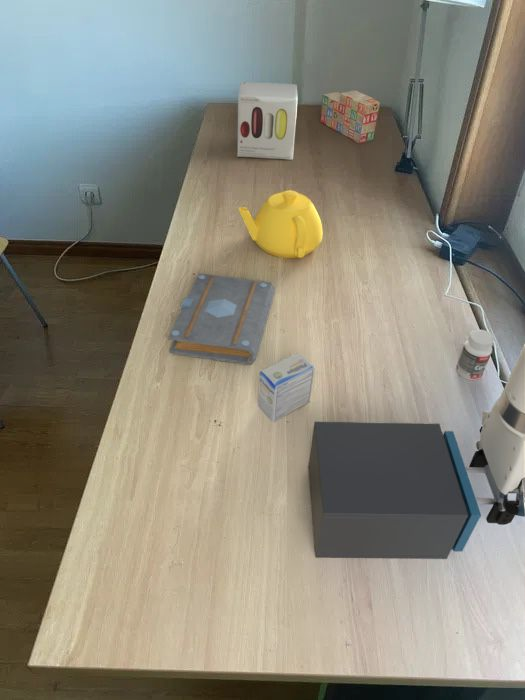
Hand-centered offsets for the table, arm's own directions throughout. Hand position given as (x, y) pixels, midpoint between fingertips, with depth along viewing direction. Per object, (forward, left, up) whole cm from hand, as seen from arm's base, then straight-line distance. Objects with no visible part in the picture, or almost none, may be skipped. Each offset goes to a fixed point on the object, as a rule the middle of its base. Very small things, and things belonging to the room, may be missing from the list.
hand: (488, 494), depth 78 cm
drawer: (+10, 0, -3) cm, 11 cm away
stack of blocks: (+2, -145, -5) cm, 145 cm away
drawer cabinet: (+15, 0, -4) cm, 16 cm away
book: (+38, -41, -5) cm, 56 cm away
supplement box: (+29, -127, -5) cm, 130 cm away
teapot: (+26, -71, -4) cm, 76 cm away
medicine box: (+27, -20, -5) cm, 34 cm away
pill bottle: (-7, -29, -5) cm, 30 cm away
